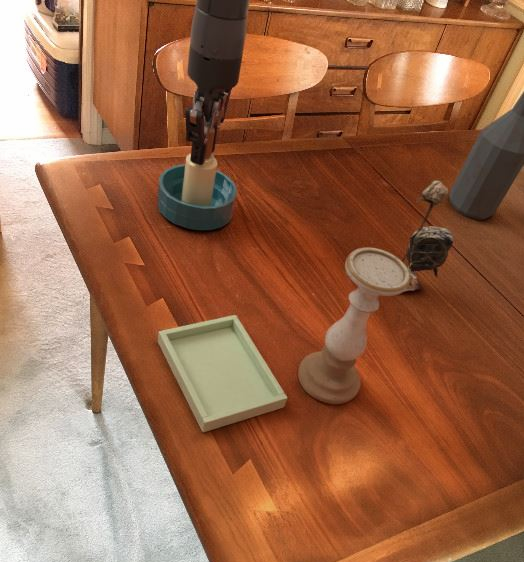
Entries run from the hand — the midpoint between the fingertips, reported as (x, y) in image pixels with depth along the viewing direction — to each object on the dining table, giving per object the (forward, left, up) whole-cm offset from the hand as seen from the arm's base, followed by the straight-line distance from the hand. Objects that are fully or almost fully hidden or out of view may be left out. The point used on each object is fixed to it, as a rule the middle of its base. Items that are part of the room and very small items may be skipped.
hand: (202, 156), depth 90 cm
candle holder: (+31, -27, -11) cm, 42 cm away
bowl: (0, 0, -10) cm, 10 cm away
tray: (+17, -33, -10) cm, 39 cm away
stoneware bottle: (0, 0, -10) cm, 10 cm away
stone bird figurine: (+38, +1, -11) cm, 39 cm away
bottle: (+49, +35, -11) cm, 61 cm away
